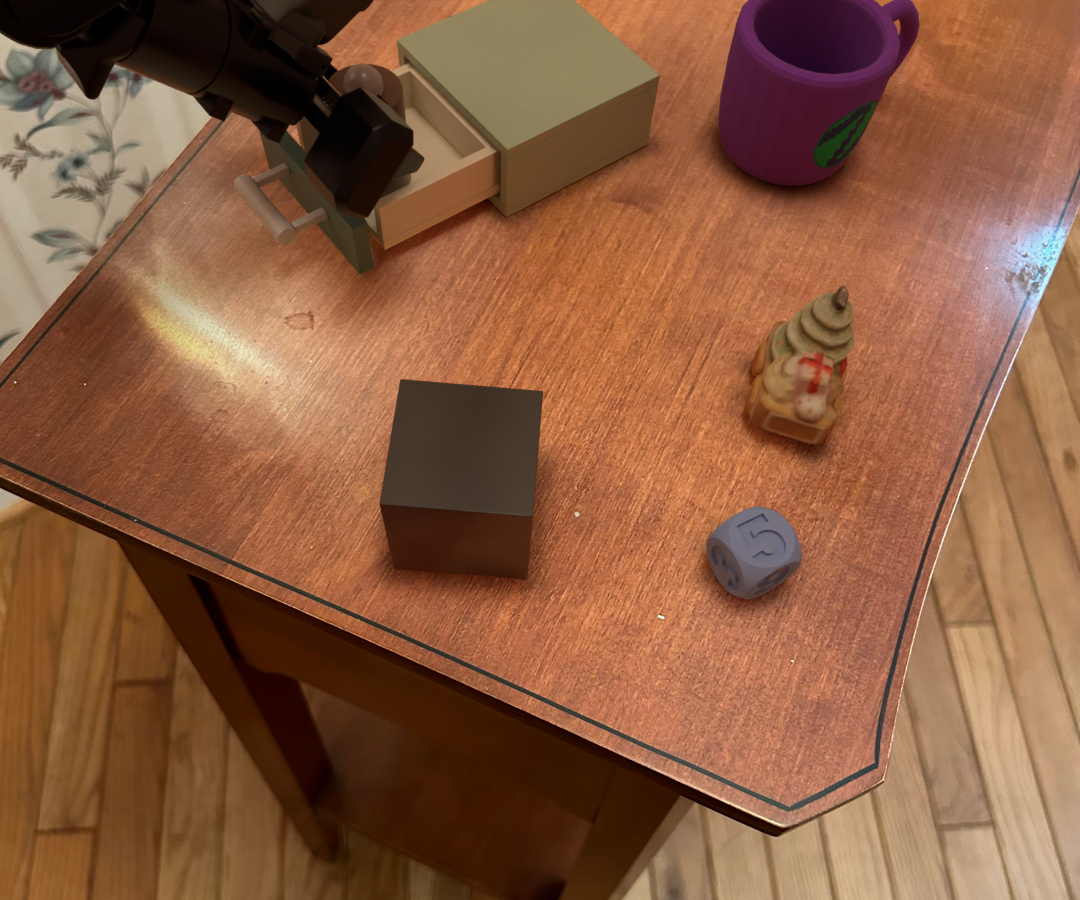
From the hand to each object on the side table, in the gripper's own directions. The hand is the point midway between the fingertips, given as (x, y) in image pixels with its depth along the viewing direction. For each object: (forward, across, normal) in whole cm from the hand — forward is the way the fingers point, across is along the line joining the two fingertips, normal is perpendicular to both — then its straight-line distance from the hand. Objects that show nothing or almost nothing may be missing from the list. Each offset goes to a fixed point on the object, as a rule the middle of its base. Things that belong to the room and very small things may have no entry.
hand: (386, 129), depth 65 cm
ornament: (+12, -31, -4) cm, 33 cm away
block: (-4, -25, +12) cm, 28 cm away
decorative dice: (+4, -38, +4) cm, 39 cm away
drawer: (+2, 0, +5) cm, 5 cm away
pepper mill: (+2, 0, +3) cm, 4 cm away
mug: (+26, -13, -18) cm, 34 cm away
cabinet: (+12, 0, -5) cm, 13 cm away
